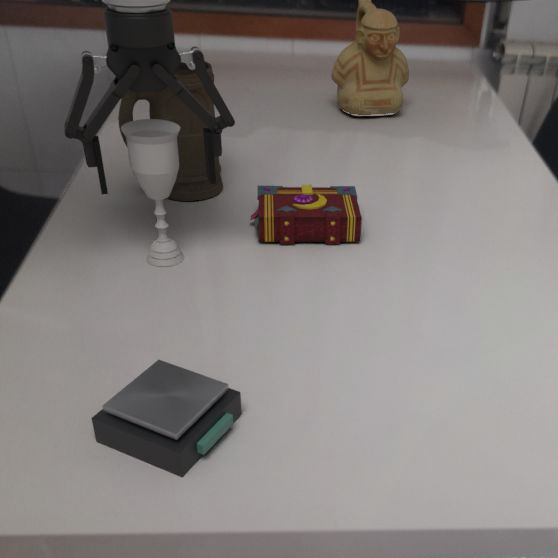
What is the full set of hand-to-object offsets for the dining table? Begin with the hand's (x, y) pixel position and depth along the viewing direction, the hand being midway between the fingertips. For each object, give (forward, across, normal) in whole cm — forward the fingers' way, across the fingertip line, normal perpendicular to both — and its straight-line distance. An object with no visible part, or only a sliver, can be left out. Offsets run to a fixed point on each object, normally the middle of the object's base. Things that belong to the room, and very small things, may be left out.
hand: (159, 185), depth 93 cm
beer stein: (+11, +5, +22) cm, 25 cm away
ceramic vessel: (+11, +51, +57) cm, 78 cm away
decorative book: (+11, +21, +4) cm, 24 cm away
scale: (+11, -5, -35) cm, 37 cm away
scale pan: (+7, -5, -35) cm, 36 cm away
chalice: (+11, 0, 0) cm, 11 cm away
